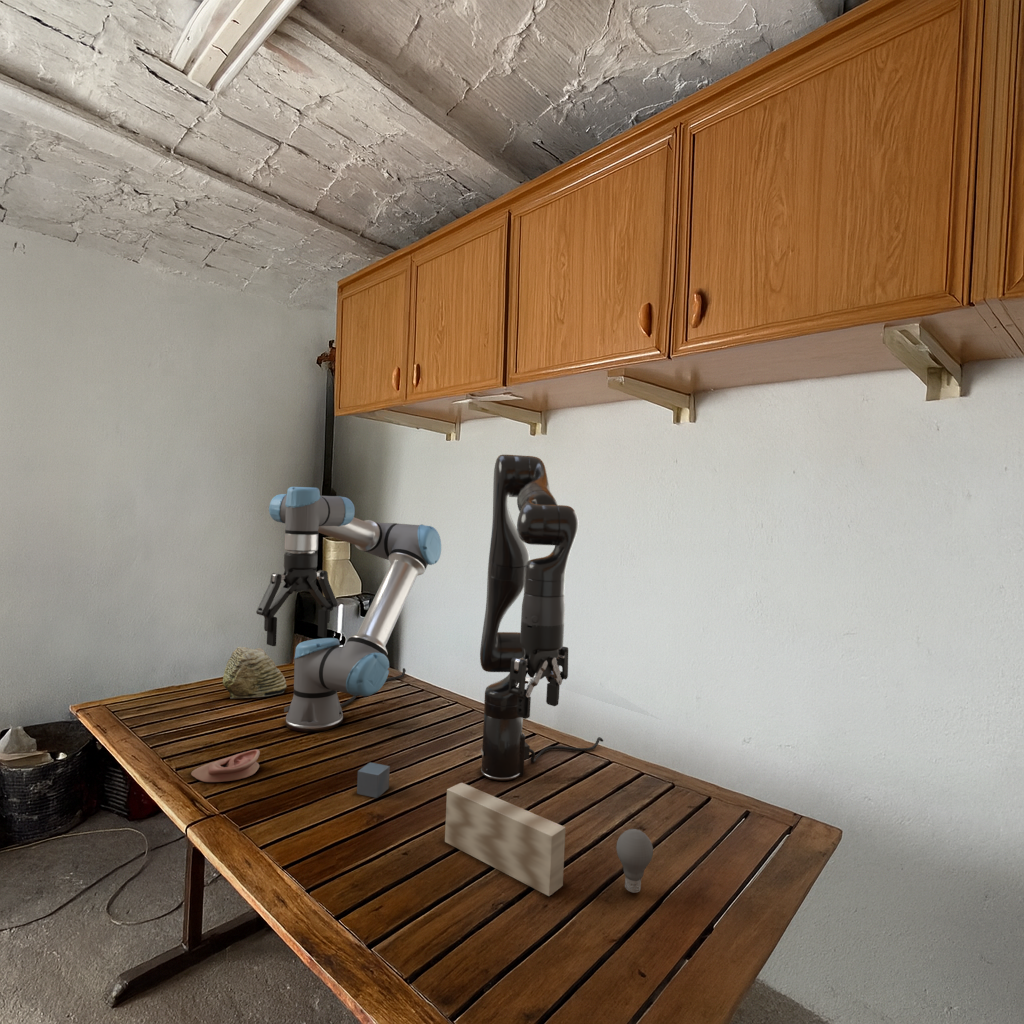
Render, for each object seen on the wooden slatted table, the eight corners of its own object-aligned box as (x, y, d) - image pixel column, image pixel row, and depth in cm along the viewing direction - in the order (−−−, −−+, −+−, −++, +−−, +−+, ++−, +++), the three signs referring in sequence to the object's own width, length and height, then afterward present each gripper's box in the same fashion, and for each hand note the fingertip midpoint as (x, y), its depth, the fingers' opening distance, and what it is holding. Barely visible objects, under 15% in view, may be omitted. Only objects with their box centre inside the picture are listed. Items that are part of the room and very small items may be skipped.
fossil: (218, 695, 195) (220, 647, 195) (278, 685, 208) (279, 640, 207) (228, 703, 189) (230, 653, 188) (289, 692, 201) (290, 645, 201)
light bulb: (610, 879, 108) (613, 822, 108) (644, 879, 109) (647, 822, 109) (619, 902, 102) (622, 840, 102) (655, 901, 103) (658, 840, 103)
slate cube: (369, 784, 140) (370, 762, 140) (389, 788, 139) (389, 766, 139) (356, 794, 136) (357, 770, 136) (377, 798, 134) (378, 775, 134)
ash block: (444, 842, 118) (446, 789, 118) (459, 833, 121) (461, 782, 121) (549, 896, 103) (552, 836, 103) (563, 885, 106) (565, 827, 106)
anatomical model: (182, 760, 139) (216, 741, 150) (181, 778, 139) (216, 758, 150) (236, 768, 136) (267, 748, 147) (235, 786, 136) (266, 765, 147)
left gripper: (335, 548, 162) (332, 631, 163) (242, 552, 143) (239, 645, 143) (353, 551, 158) (350, 636, 158) (260, 555, 138) (256, 652, 139)
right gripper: (548, 610, 118) (544, 696, 119) (500, 621, 107) (495, 715, 108) (583, 617, 113) (578, 706, 114) (535, 629, 102) (530, 728, 103)
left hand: (297, 640), depth 151 cm, fingers open, 13 cm apart
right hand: (538, 710), depth 111 cm, fingers open, 8 cm apart
